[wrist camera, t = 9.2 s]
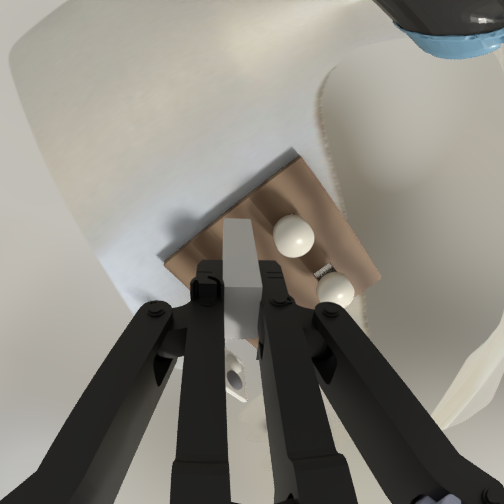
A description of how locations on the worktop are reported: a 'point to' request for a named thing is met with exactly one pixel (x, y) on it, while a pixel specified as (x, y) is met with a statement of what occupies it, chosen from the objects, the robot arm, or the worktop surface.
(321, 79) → the worktop surface
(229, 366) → the card
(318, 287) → the button
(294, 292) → the board
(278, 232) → the button
